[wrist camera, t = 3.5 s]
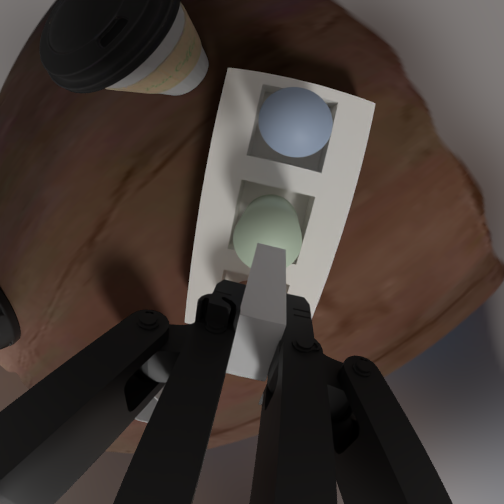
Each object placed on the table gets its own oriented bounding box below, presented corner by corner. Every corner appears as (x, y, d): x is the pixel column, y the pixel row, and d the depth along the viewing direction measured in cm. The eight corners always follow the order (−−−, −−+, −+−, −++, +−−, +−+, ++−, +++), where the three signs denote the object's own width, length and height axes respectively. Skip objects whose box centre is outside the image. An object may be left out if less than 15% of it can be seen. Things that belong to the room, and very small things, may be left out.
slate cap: (257, 148, 21) (251, 148, 16) (270, 95, 19) (266, 80, 15) (314, 162, 21) (323, 165, 16) (326, 108, 19) (339, 98, 14)
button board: (195, 302, 31) (184, 322, 27) (235, 79, 22) (228, 67, 18) (297, 326, 31) (299, 349, 27) (362, 109, 22) (375, 103, 18)
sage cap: (238, 240, 24) (227, 263, 19) (249, 188, 22) (240, 199, 18) (290, 252, 24) (292, 278, 19) (304, 201, 22) (310, 216, 17)
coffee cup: (206, 121, 24) (121, 97, 10) (125, 103, 23) (15, 88, 9) (240, 37, 20) (198, -55, 6) (156, 25, 20) (72, -35, 6)
